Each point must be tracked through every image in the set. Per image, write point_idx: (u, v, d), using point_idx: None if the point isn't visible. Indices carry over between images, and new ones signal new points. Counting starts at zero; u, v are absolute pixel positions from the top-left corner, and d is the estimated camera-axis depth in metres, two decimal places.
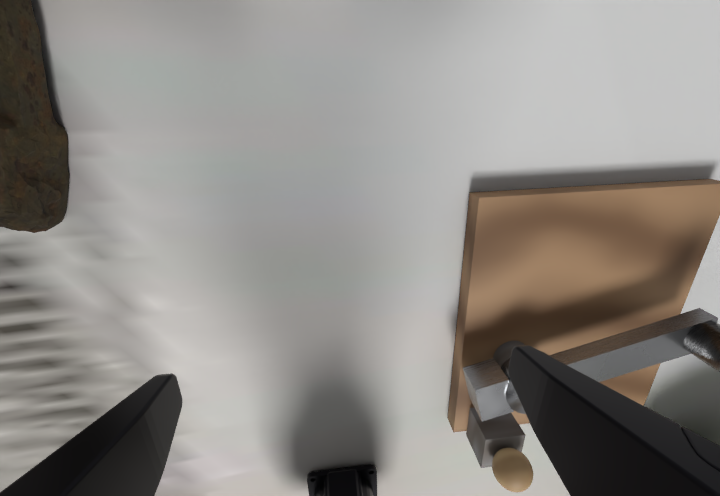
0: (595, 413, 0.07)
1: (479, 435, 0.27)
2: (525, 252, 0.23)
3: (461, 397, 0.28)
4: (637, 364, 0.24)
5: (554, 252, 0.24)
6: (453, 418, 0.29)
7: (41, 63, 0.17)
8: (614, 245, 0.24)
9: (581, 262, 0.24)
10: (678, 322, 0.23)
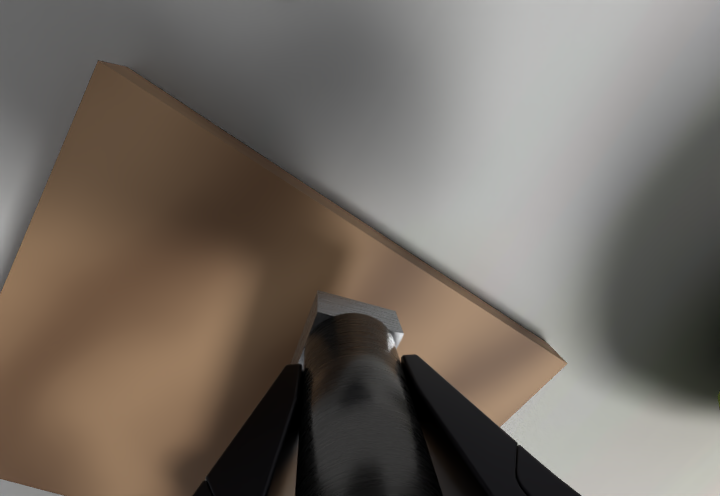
0: (442, 429, 0.06)
1: None
2: (69, 435, 0.14)
3: None
4: None
5: (93, 402, 0.14)
6: None
7: None
8: (133, 321, 0.12)
9: (138, 374, 0.13)
10: (296, 358, 0.10)
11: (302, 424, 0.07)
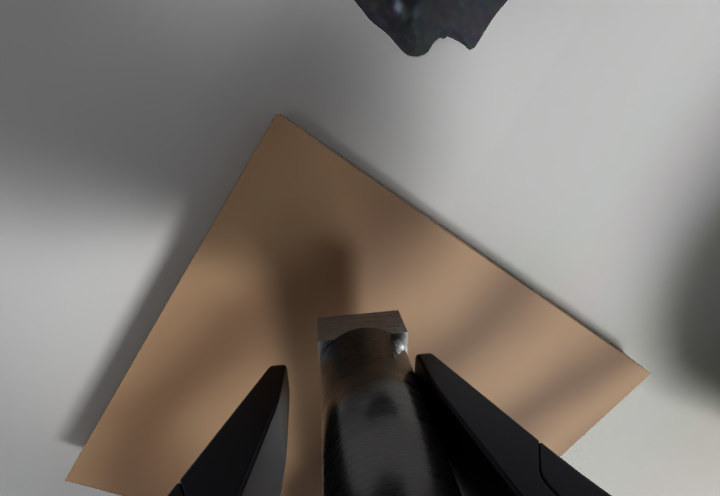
0: (463, 427, 0.06)
1: None
2: (194, 452, 0.15)
3: None
4: None
5: (221, 421, 0.14)
6: None
7: None
8: (269, 344, 0.13)
9: None
10: None
11: None
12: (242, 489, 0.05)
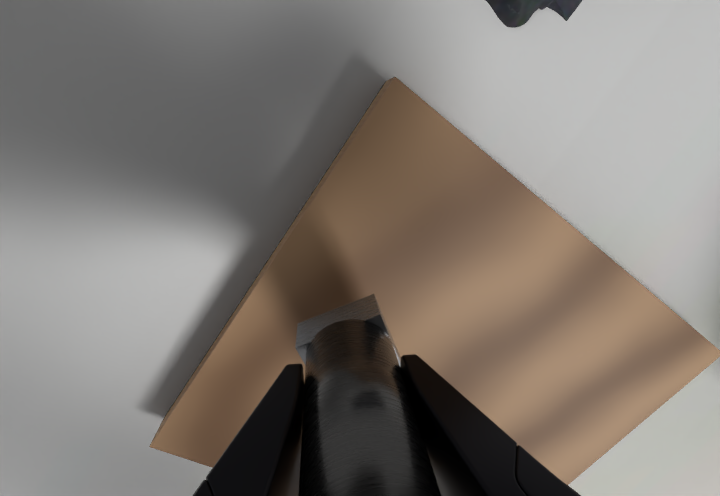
0: (442, 429, 0.06)
1: None
2: None
3: None
4: None
5: None
6: None
7: None
8: None
9: None
10: None
11: None
12: (269, 486, 0.05)
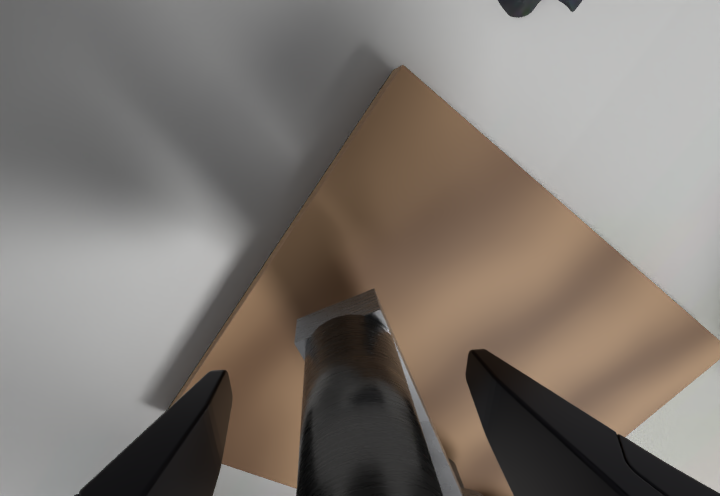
0: (535, 419, 0.07)
1: None
2: (278, 416, 0.15)
3: None
4: None
5: None
6: None
7: None
8: None
9: None
10: None
11: None
12: None
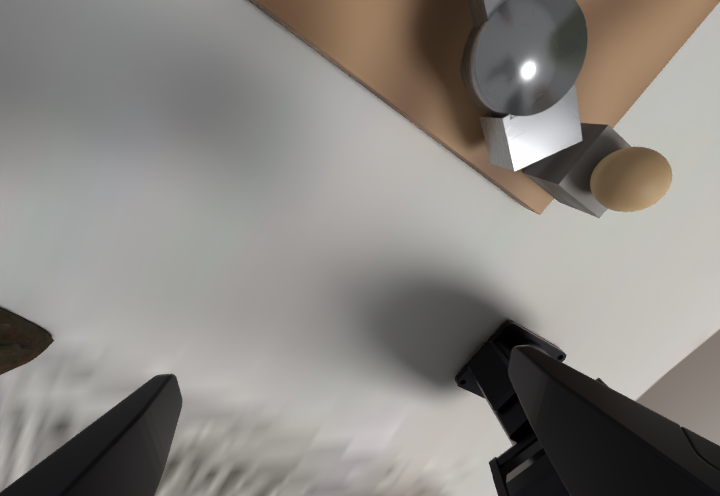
0: (595, 413, 0.07)
1: (554, 186, 0.17)
2: None
3: (497, 172, 0.19)
4: None
5: None
6: (521, 201, 0.20)
7: None
8: None
9: None
10: None
11: None
12: None
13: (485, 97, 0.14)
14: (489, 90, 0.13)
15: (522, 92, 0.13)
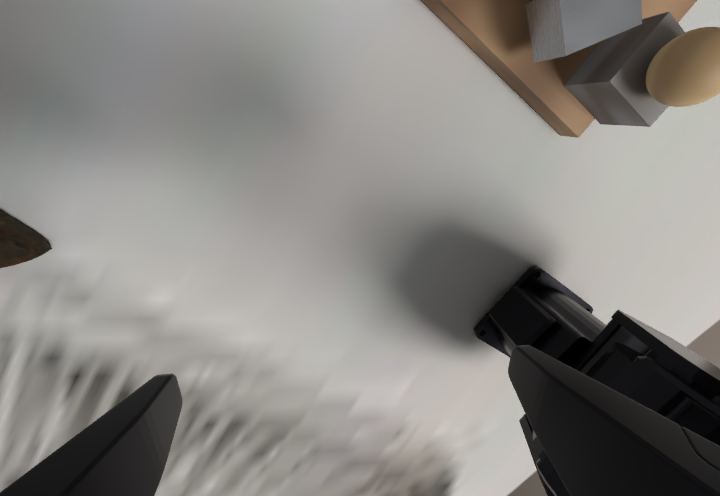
0: (595, 413, 0.07)
1: (602, 90, 0.16)
2: None
3: (537, 83, 0.17)
4: None
5: None
6: (559, 121, 0.18)
7: None
8: None
9: None
10: None
11: None
12: None
13: None
14: None
15: None
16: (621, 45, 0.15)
